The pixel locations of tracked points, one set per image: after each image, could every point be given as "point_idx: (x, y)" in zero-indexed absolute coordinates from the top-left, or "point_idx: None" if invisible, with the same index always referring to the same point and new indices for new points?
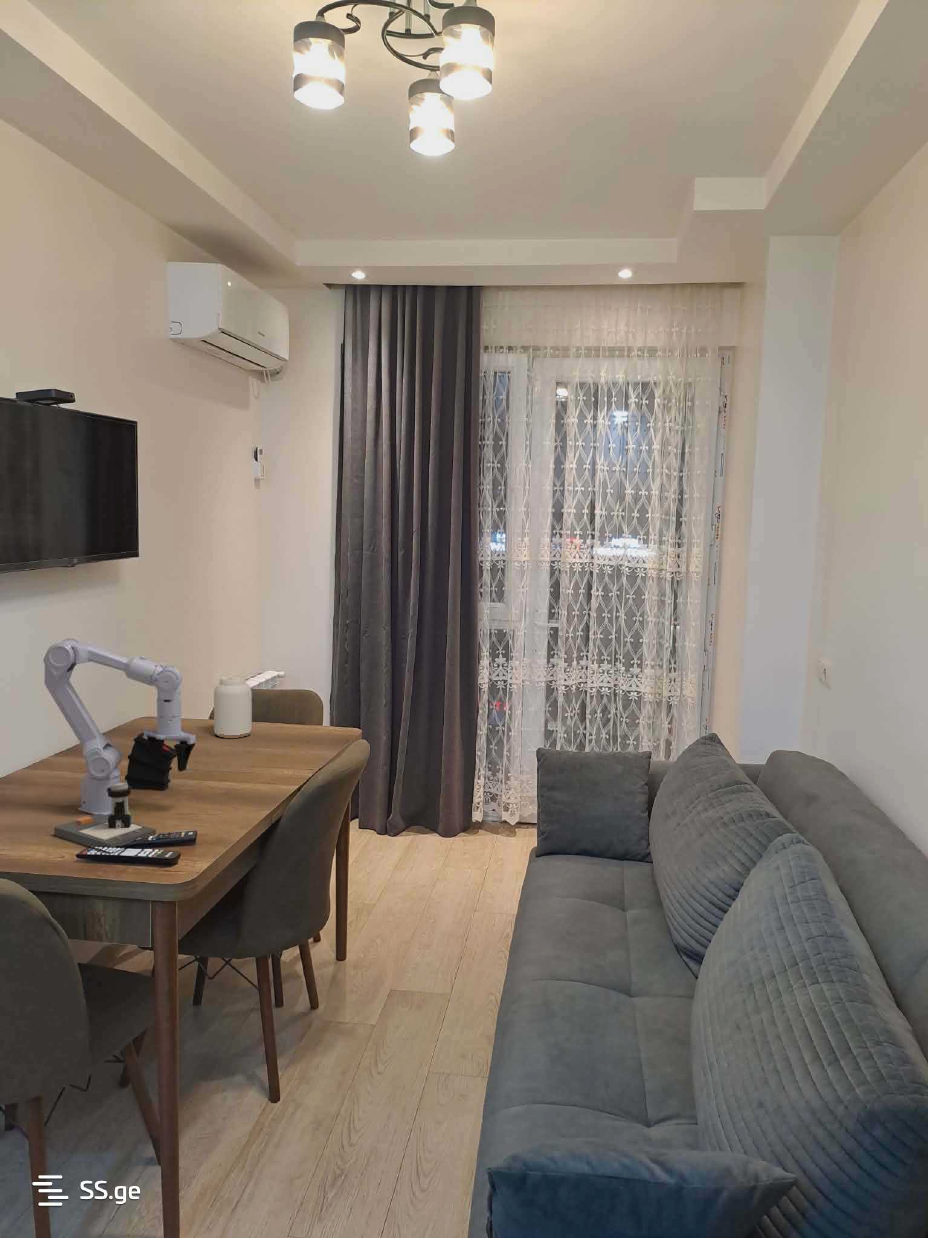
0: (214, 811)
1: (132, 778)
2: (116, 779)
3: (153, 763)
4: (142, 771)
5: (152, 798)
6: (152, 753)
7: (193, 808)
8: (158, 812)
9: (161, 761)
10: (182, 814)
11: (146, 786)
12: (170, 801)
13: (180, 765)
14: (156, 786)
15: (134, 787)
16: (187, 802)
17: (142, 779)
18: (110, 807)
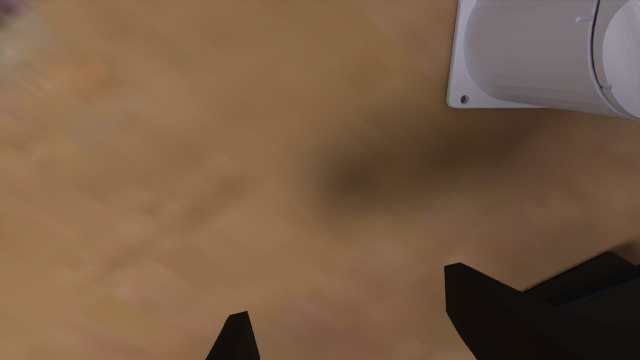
0: (150, 284)
1: (624, 280)
2: (577, 40)
3: (476, 274)
4: (617, 320)
5: (462, 240)
6: (533, 320)
7: (246, 259)
8: (318, 150)
9: (463, 336)
10: (218, 190)
11: (552, 289)
12: (383, 257)
13: (212, 348)
14: None
15: (588, 266)
16: (322, 286)
17: (586, 296)
18: (481, 12)
